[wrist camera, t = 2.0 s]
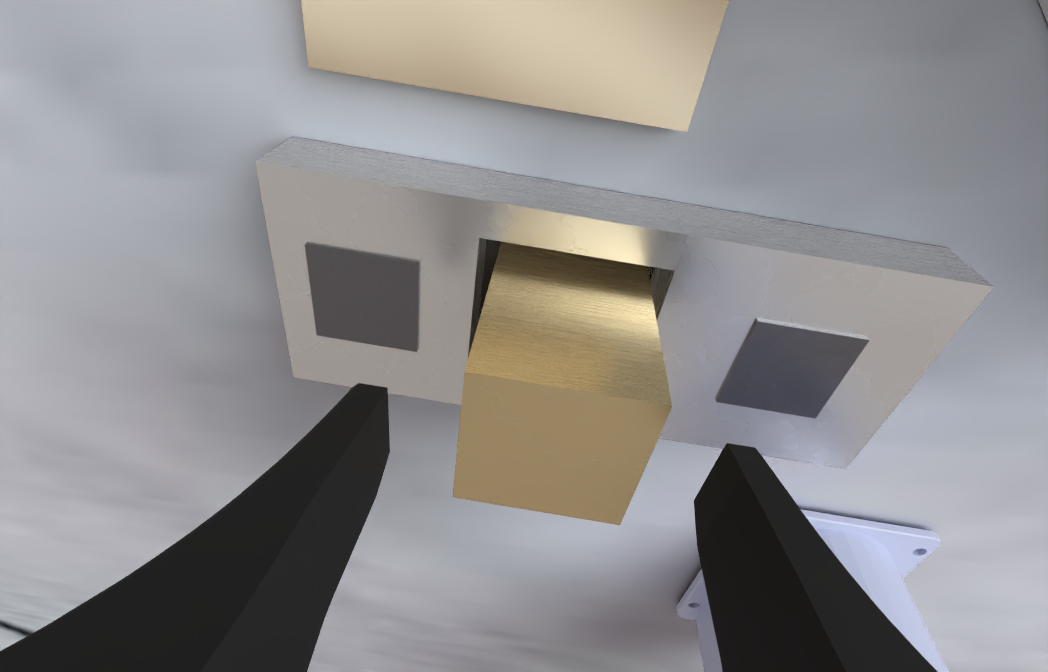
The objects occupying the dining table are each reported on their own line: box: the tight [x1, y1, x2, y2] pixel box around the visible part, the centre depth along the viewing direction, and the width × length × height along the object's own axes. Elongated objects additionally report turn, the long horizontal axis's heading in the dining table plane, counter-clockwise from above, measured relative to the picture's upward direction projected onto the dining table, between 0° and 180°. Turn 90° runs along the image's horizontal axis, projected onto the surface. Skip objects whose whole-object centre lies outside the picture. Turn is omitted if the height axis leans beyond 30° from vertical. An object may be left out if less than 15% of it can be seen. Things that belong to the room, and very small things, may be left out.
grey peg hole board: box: [255, 137, 993, 469], centre depth 15 cm, size 7×18×2 cm, turn 82°
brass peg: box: [453, 241, 672, 525], centre depth 14 cm, size 4×4×6 cm
